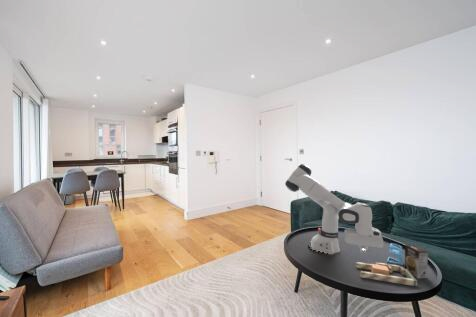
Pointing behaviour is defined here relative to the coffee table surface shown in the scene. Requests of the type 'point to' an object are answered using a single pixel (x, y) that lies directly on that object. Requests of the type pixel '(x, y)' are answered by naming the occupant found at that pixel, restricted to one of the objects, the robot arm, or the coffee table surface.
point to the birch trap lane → (407, 281)
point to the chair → (396, 253)
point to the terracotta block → (379, 269)
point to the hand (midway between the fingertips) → (363, 252)
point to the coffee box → (416, 261)
